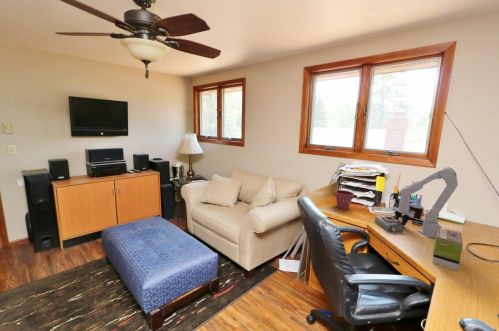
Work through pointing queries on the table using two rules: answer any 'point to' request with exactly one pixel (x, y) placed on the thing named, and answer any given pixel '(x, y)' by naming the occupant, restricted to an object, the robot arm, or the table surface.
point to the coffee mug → (416, 210)
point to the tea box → (447, 248)
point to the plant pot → (344, 198)
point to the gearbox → (389, 223)
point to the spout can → (400, 220)
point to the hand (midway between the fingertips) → (401, 223)
